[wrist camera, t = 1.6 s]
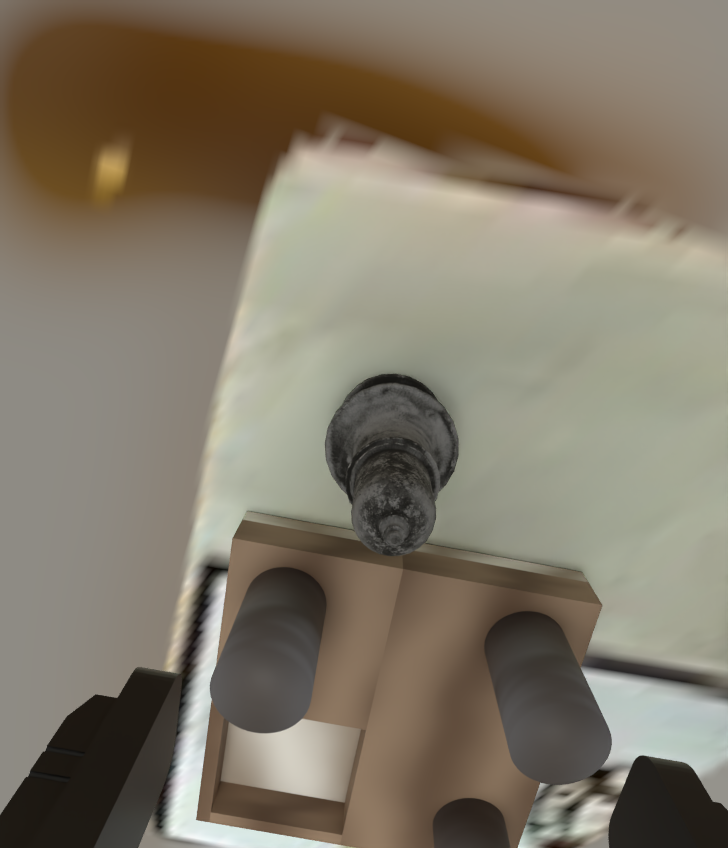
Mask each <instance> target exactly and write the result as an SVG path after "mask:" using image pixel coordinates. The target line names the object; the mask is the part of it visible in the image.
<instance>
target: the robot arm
mask: <svg viewBox="0 0 728 848" xmlns="http://www.w3.org/2000/svg"><path fill="white" fill-rule="evenodd" d="M181 684H182V676H181V674H177V673H171V672H166V671H159V670H154V669H148V668H142V667H137V668H136V669H135V670H134V672H133V673H132V675H131V676H130V678H129V679H128V681H127V683H126V685H125V686H124V688H123V690H122V692H121V693H120V695H119V696H118V698H114V697H107V696H102V695H94V696H93V697H92V698H90V699H89V700H88V701H87V702H85V703H84V704H83V705H82V706H80V707H79V708H77V709H76V710H75V711H73V712H72V713H71V714H70V715H68V716H67V717H66V719H65V720H64V721H63V723H62V724H61V726H60V727H59V729H58V730H57V732H56V733H55V735H54V736H53V738H52V739H51V741H50V742H49V744H48V745H47V748H46V751H45V752H43V753H42V754H41V756H40V757H39V758H38V760H37V761H36V763H35V764H34V766H33V767H32V769H31V771H30V774H29V776H28V777H26V778H25V779H24V781H23V782H22V784H21V785H20V787H19V788H18V789H17V791H16V793H15V794H14V795H13V797H12V798H11V800H10V801H9V803H8V804H7V806H6V807H5V809H4V810H3V812H2V813H1V815H0V848H138V847H139V844H140V842H141V839H142V837H143V834H144V832H145V830H146V827H147V825H148V822H149V820H150V817H151V815H152V812H153V810H154V808H155V805H156V803H157V800H158V798H159V795H160V793H161V790H162V788H163V785H164V783H165V780H166V777H167V774H168V771H169V768H170V764H171V760H172V756H173V752H174V746H175V739H176V730H177V721H178V712H179V703H180V694H181ZM609 848H728V810H727V809H726V808H725V807H724V806H723V805H722V804H721V803H717V802H713V801H712V800H711V798H710V796H709V795H708V793H707V791H706V790H705V788H704V786H703V785H702V783H701V781H700V779H699V778H698V776H697V774H696V773H695V771H694V770H693V769H692V768H691V767H690V766H689V765H688V764H686V763H684V762H678V761H672V760H666V759H660V758H655V757H649V756H639V757H637V758H636V759H635V761H634V763H633V765H632V767H631V770H630V772H629V774H628V777H627V779H626V782H625V784H624V787H623V789H622V792H621V794H620V797H619V799H618V801H617V804H616V806H615V809H614V811H613V814H612V816H611V819H610V824H609Z"/></svg>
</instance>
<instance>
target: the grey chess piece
mask: <svg viewBox="0 0 728 848" xmlns="http://www.w3.org/2000/svg"><path fill="white" fill-rule="evenodd" d="M325 453H326V461H327V464H328V467H329V470H330V472H331V475H332V477H333V478H334V480H335V481H336V482H337V484H338V485H339V487H340V488H341V489H342V490H343V491H344V492H345V493H346V494H347V495H348V498H349V501H350V503H351V504H352V510H351V515H352V524H353V527H354V529H355V532H356V535H357V536H358V538H359V539H360V541H361V542H362V543H363V544H364V545H365V546H366V547H367V548H369V549H370V550H372V551H374V552H376V553H378V554H381V555H386V556H401V555H405V554H408V553H411V552H413V551H415V550H416V549H418V548H420V547H421V546H422V545H423V544H424V543H425V542H426V541H427V539H428V538H429V536H430V534H431V533H432V530H433V527H434V523H435V520H436V507H435V501H436V499H437V496H438V492H439V491H440V490H441V489H442V488H443V487H444V486H445V485H446V484H447V482H448V480H449V479H450V477H451V475H452V474H453V472H454V470H455V466H456V462H457V459H458V436H457V432H456V429H455V425H454V422H453V420H452V419H451V417H450V416H449V414H448V412H447V411H446V409H445V408H444V407H443V406H442V405H441V404H440V403H439V402H438V401H437V399H436V397H435V396H434V394H433V393H432V392H431V391H430V390H429V389H428V388H427V387H426V386H425V385H423V384H422V383H421V382H419V381H417V380H415V379H413V378H411V377H408V376H403V375H398V374H384V375H379V376H375V377H372V378H369V379H367V380H365V381H364V382H362V383H361V384H359V385H357V386H356V387H355V388H354V389H353V390H352V391H351V392H350V394H349V395H348V396H347V397H346V399H345V401H344V403H343V405H342V406H341V407H340V408H339V409H338V410H337V411H336V413H335V415H334V417H333V419H332V421H331V423H330V425H329V426H328V430H327V435H326V440H325Z"/></svg>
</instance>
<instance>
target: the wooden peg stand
mask: <svg viewBox="0 0 728 848" xmlns="http://www.w3.org/2000/svg"><path fill="white" fill-rule="evenodd" d="M601 608H602V604H601V602H600V601H599V599H598V597H597V596H596V594H595V592H594V591H593V589H592V587H591V586H590V584H589V582H588V581H587V579H586V578H585V576H584V574H583V573H582V572H579V571H574V570H568V569H563V568H557V567H552V566H546V565H541V564H535V563H530V562H524V561H519V560H513V559H508V558H502V557H497V556H491V555H486V554H480V553H475V552H469V551H464V550H458V549H453V548H447V547H442V546H436V545H431V544H425V543H424V544H423V545H422V546H421V547H420V548H418V549H416V550H415V551H413V552H411V553H408V554H405V555H401V556H386V555H381V554H378V553H376V552H374V551H372V550H370V549H369V548H367V547H366V546H365V545H364V544H363V543H362V542H361V541H360V539H359V538H358V536H357V535H356V532H355V531H354V530H348V529H343V528H337V527H332V526H326V525H321V524H315V523H310V522H304V521H299V520H293V519H288V518H282V517H277V516H271V515H266V514H260V513H255V512H249V511H247V512H246V514H245V516H244V518H243V520H242V522H241V523H240V525H239V527H238V529H237V531H236V533H235V535H234V537H233V539H232V547H231V555H230V562H229V570H228V578H227V586H226V593H225V601H224V609H223V617H222V624H221V632H220V640H219V648H218V655H217V663H216V668H215V670H214V673H213V675H212V678H211V682H210V694H211V698H212V702H211V710H210V717H209V725H208V733H207V741H206V748H205V756H204V764H203V772H202V779H201V787H200V795H199V803H198V810H197V818H196V820H199V821H205V822H211V823H217V824H222V825H228V826H234V827H240V828H246V829H251V830H257V831H263V832H269V833H275V834H280V835H286V836H292V837H298V838H304V839H309V840H315V841H321V842H327V843H333V844H338V845H344V846H350V847H356V848H518V845H519V842H520V839H521V836H522V833H523V830H524V828H525V825H526V822H527V819H528V816H529V813H530V810H531V808H532V805H533V802H534V799H535V796H536V793H537V790H538V788H539V785H540V782H541V783H545V784H552V785H562V784H570V783H574V782H578V781H580V780H583V779H585V778H587V777H589V776H591V775H592V774H594V773H595V772H596V771H597V770H598V769H600V768H601V766H602V765H603V764H604V763H605V761H606V760H607V758H608V756H609V754H610V750H611V745H612V739H611V733H610V731H609V728H608V726H607V724H606V722H605V719H604V717H603V715H602V713H601V711H600V709H599V707H598V704H597V702H596V700H595V698H594V696H593V694H592V692H591V689H590V687H589V685H588V683H587V681H586V679H585V677H584V674H583V672H582V670H581V665H582V662H583V659H584V656H585V653H586V651H587V648H588V645H589V642H590V639H591V636H592V633H593V631H594V628H595V625H596V622H597V619H598V616H599V613H600V611H601Z"/></svg>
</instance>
